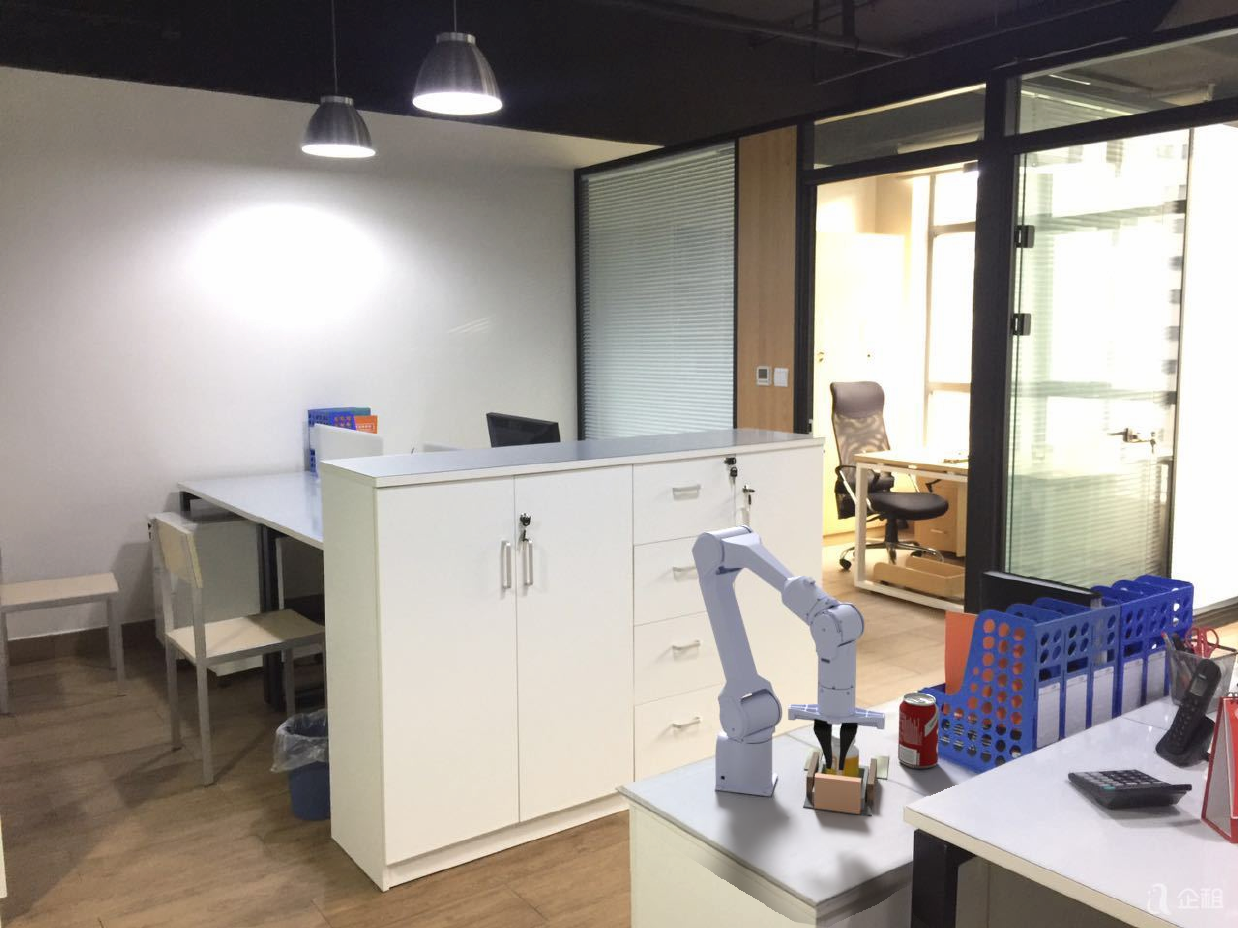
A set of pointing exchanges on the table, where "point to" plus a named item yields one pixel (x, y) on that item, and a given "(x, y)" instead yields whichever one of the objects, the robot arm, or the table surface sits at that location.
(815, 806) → the box
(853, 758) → the supplement bottle
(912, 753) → the soda can
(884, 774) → the track
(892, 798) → the table surface
